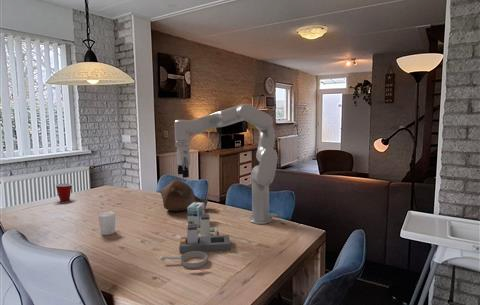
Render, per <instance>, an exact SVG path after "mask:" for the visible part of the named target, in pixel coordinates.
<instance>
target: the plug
mask: <svg viewBox="0 0 480 305" xmlns="http://www.w3.org/2000/svg"><path fill="white" fill-rule="evenodd" d="M210 217H211V216H210V214H205V215H201V218H200V228H201V232H200V236H209V235H211V231H210V228H211V223H210V222H211V218H210Z"/></svg>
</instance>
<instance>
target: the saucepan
mask: <svg viewBox="0 0 480 305" xmlns="http://www.w3.org/2000/svg"><path fill="white" fill-rule="evenodd" d="M191 258H202V259H204V260H201V261H198V262H186V261H185V260H187V259H191ZM162 259H169V260H180V263H181V265H182V266H183V268H187V269H191V271H196V270H198V269H199V268H201V267H203V266H205V265H206V264H207V263H208V254H207V252H201V251H191V252H187V253H182V254H181V256H169V255H168V256H167V255H166V256H165V255H163V256H162Z"/></svg>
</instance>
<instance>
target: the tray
mask: <svg viewBox="0 0 480 305" xmlns="http://www.w3.org/2000/svg"><path fill="white" fill-rule="evenodd" d="M210 232H214V234H213V235H212V234H210V235H209V236H218V233H217V232H218V231H217V227H210ZM198 233H201V227H200V228H199V227H198Z"/></svg>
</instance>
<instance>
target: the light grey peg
mask: <svg viewBox="0 0 480 305" xmlns="http://www.w3.org/2000/svg"><path fill="white" fill-rule="evenodd" d="M198 228H199V226H197V224H191V225H188V224H187V228H186V237H187V244H198V236H199V232H198Z"/></svg>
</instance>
